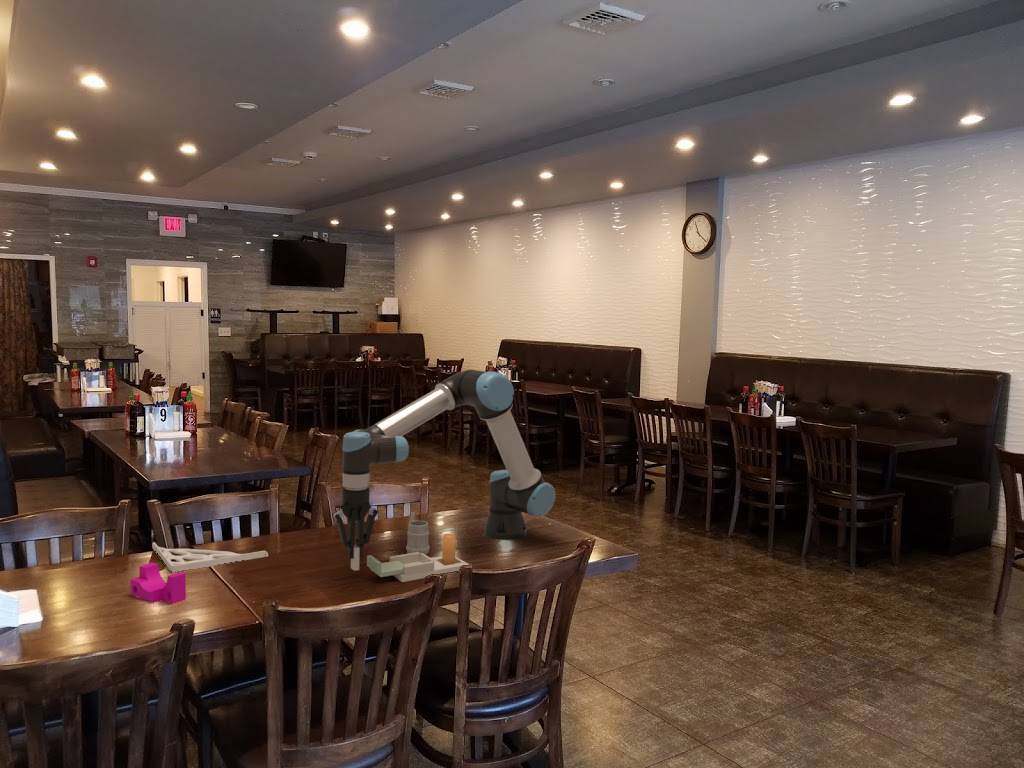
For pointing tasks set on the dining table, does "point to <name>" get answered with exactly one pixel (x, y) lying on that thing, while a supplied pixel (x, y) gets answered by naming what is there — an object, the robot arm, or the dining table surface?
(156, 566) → the toy block
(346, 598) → the dining table surface
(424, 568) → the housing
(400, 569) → the pale green l-shaped block
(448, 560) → the orange cylinder
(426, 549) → the mug
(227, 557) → the shelf bracket
